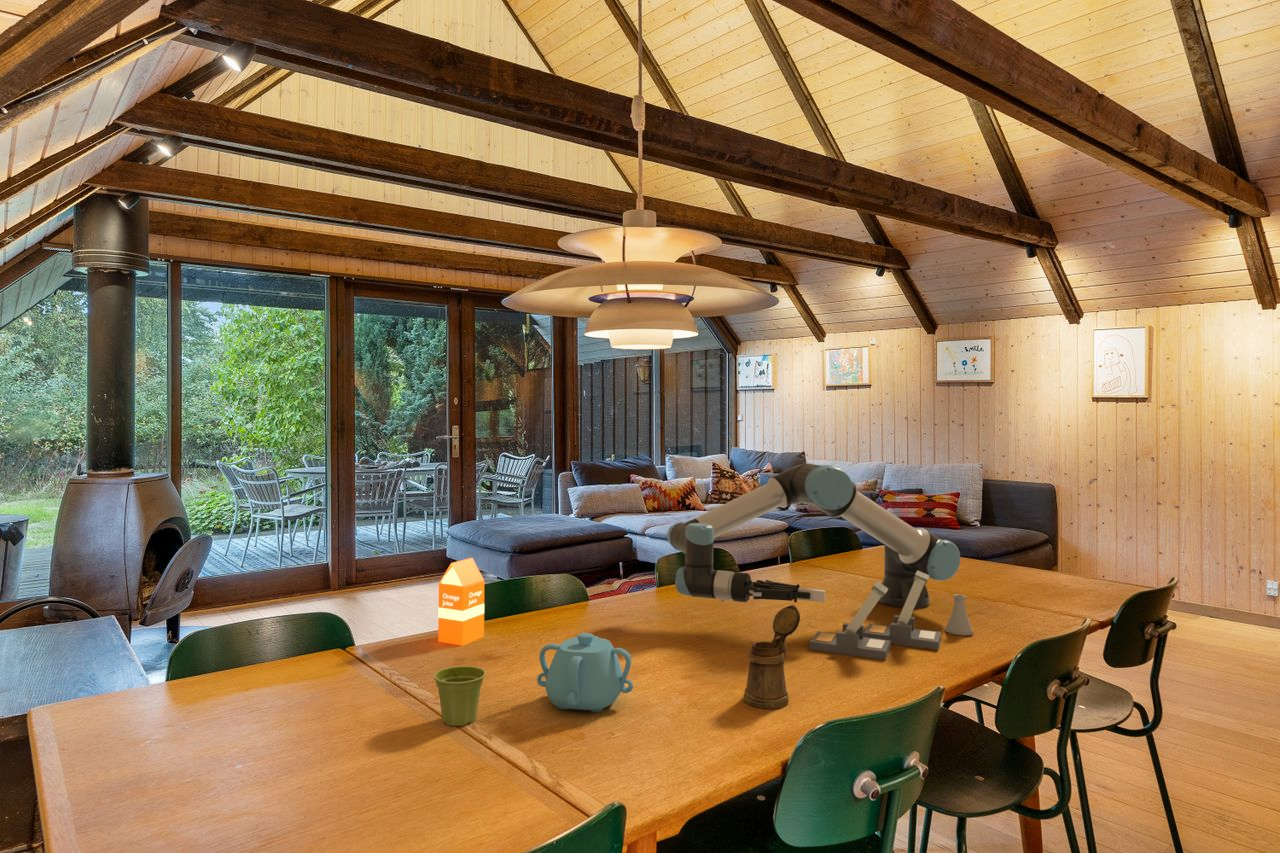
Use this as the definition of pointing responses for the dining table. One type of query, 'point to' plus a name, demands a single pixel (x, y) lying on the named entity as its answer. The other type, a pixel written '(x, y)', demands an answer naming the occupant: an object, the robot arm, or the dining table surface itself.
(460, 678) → the plant pot
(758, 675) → the wooden mug
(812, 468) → the robot arm
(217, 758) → the dining table surface
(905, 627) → the housing far
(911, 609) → the lever far
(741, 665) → the dining table surface
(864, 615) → the lever near
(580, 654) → the decorative pot
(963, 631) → the flask
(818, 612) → the dining table surface
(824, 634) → the housing near
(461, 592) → the orange juice
